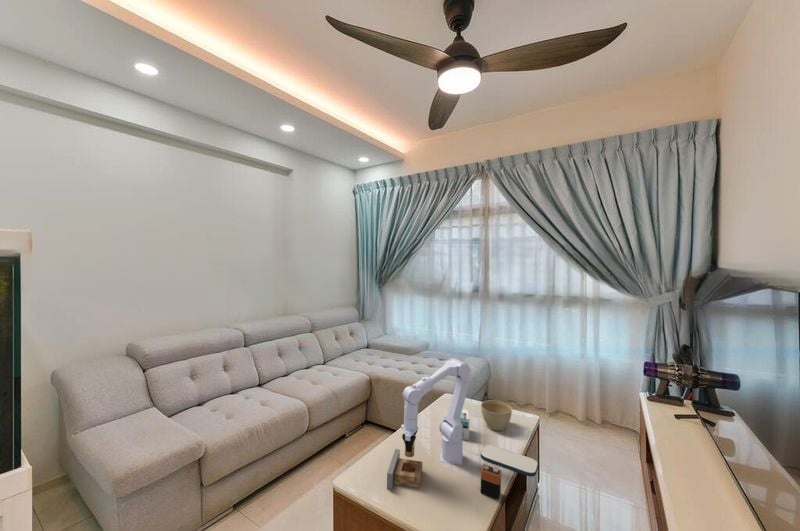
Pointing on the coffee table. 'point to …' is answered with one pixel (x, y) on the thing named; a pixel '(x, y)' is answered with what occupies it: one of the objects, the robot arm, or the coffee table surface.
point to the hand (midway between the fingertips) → (409, 448)
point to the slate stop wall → (392, 469)
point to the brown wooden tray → (408, 473)
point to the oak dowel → (412, 450)
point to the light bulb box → (465, 424)
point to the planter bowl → (496, 414)
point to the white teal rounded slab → (510, 460)
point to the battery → (491, 481)
